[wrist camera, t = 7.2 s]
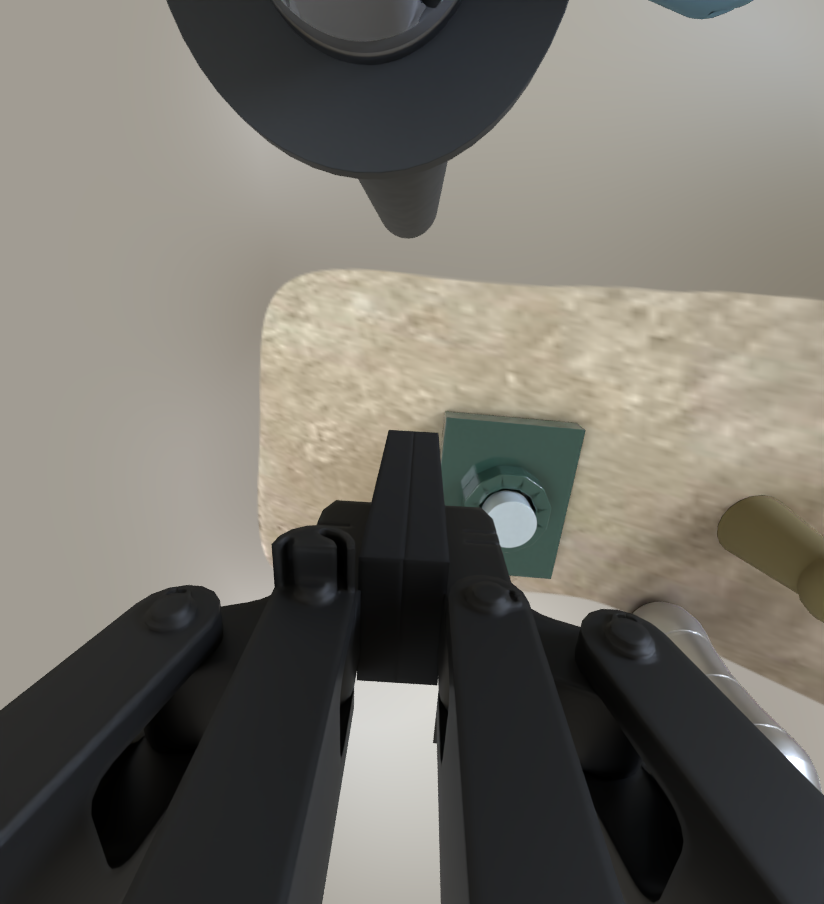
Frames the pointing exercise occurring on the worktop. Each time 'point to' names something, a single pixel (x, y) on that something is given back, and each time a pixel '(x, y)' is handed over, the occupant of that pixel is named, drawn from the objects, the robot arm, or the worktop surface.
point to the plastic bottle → (723, 677)
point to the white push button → (511, 517)
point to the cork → (777, 547)
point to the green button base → (514, 475)
